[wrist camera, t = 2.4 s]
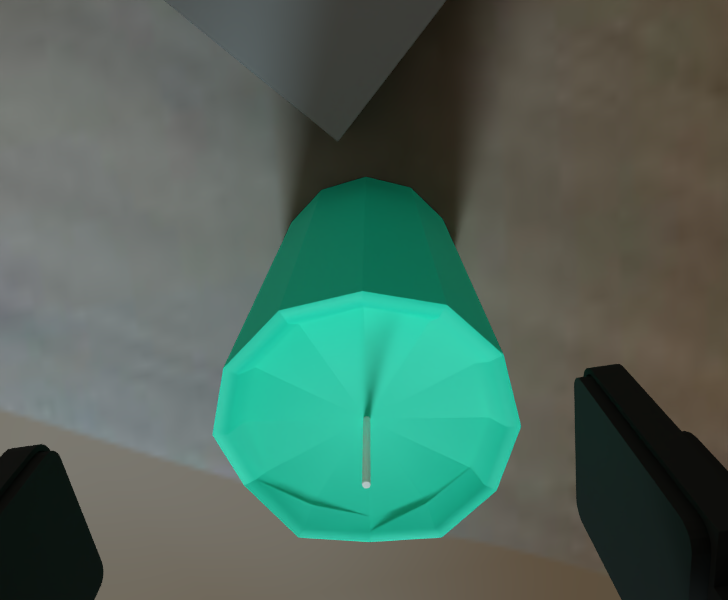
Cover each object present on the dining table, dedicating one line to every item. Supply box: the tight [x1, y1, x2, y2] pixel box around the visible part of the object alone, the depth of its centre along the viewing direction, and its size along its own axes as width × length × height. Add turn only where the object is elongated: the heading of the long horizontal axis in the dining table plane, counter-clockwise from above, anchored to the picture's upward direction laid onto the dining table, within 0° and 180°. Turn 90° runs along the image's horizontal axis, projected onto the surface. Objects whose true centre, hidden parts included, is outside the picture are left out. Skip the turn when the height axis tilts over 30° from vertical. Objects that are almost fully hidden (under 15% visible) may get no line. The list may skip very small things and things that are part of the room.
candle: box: [213, 177, 521, 542], centre depth 16 cm, size 6×6×12 cm
